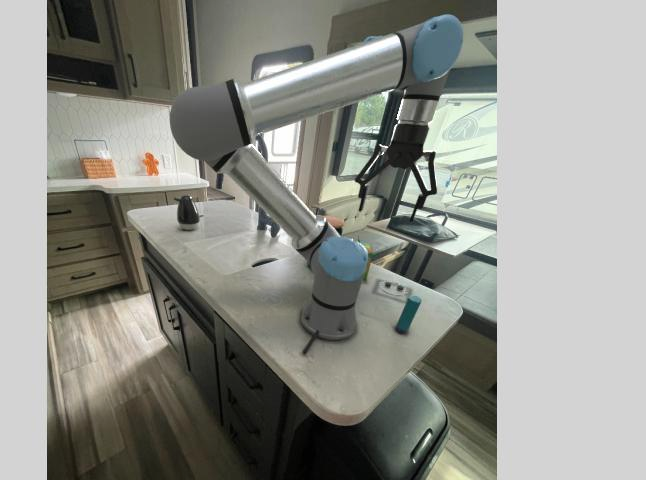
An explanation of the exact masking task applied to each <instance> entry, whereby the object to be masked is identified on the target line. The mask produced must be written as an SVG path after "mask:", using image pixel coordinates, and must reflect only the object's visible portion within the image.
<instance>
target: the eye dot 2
mask: <svg viewBox="0 0 646 480" xmlns="http://www.w3.org/2000/svg"><path fill="white" fill-rule="evenodd" d="M404 287H405V286H404ZM404 287H403V285H402V286H401V285H397V286H396V289H397V290H399V291H404V290H405V288H404Z"/></svg>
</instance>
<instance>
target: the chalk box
mask: <svg viewBox="0 0 646 480" xmlns="http://www.w3.org/2000/svg"><path fill="white" fill-rule="evenodd" d="M360 240H361V239H360V235H358V234H357V242H359V243H360V244H361V245H363V246H364V248H365V249H366V251H367V253H368V262H367V269H366V272H365V273H364V276H363V280H362V281H365V282H366V281H367V279H368V275H369V271H370V268H371V265H372V260H373V258H374V257H373V256H374V250H373V248H372V245H371V244H370V243H366V242H365V243H364V242H361V241H360Z"/></svg>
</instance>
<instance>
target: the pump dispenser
mask: <svg viewBox="0 0 646 480" xmlns="http://www.w3.org/2000/svg"><path fill="white" fill-rule="evenodd" d="M173 201H176V202H178V204H177V209H176V221H177V223H178V225H179V227H181V228H182V229H183V230H186V231H192V230H195V229H197V228H198V227H199V224H200V221H201V220H200V219H201V218H200V214H199V210H198V207H197V205H196V203H195V201H194V199H193V198H192V196H190V195H188V194H183V195H182V196H181V197H180V198H178V197H173Z"/></svg>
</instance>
